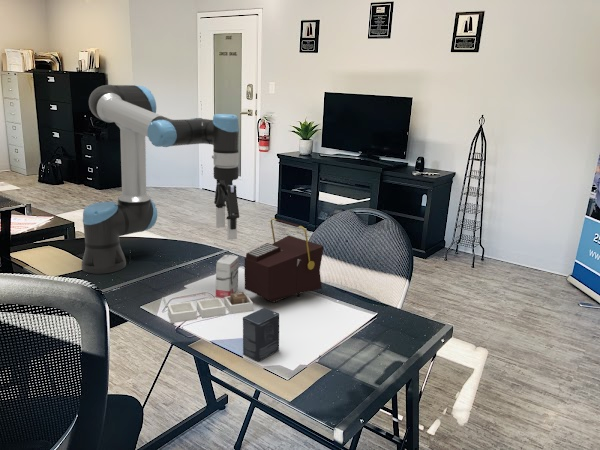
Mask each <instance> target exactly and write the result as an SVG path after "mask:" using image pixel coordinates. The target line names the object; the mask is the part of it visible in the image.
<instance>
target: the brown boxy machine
mask: <svg viewBox="0 0 600 450" xmlns="http://www.w3.org/2000/svg"><path fill="white" fill-rule="evenodd" d="M273 221H276V222H278V223H281V224H284V225H288V226H292V227H295V228H301V229H302V230H303V231H304V235H305V236H304V238H305V239H302V238H299V237H295V236H292V235H287V236H285V237H283V238H281V239H279V240H277V241H276V237H275V236H276V235H275V232H274V231H275V229H274V225H273ZM270 226H271V227H270V228H271V234H272V239H273V243H269V242H266V243H264V244H262V245H260V246H258V247H256V248H254V249H252V250H251V251H248V252H246V254H245V258H244V290H247V291H248V292H250V293H253V294H255V295H257V296H259V297H260V298H261V299H265V300H267V301H269V302H271V303H273V304H277V302H278V301H281V300H283V299H286V298H289V297H293V296H295V295H296V297H297V298H300V297H301V296H300V295H301V294H302V293H307V292H312V291H317V290H321V289H322V287H323V286H322V281H321V280H322V279H321V265H322V264H321V263H322V259H323V253H324V247H325V245H322V244H318V243H315V242H312V241H309V240H308V234H307V230H306V228H305V227H304V226H302V225H299V224H296V223H293V222H289V221H286V220H282V219H279V218H277V219H276V218H272V219H271V220H270ZM322 290H323V289H322Z"/></svg>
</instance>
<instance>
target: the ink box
mask: <svg viewBox="0 0 600 450" xmlns="http://www.w3.org/2000/svg"><path fill="white" fill-rule="evenodd" d="M239 257H240V256H238V255H234V254H224V255H222V257H220V258H219V259H218V260H217V261H216V263H215V265H216V266H215V267H216V269H215V298H223V299H224V297H228V296H230V294H232V293H236V292H237V290H238V289H239V263H240V262H239Z"/></svg>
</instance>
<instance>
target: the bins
mask: <svg viewBox="0 0 600 450" xmlns="http://www.w3.org/2000/svg"><path fill="white" fill-rule="evenodd" d="M244 294H245V295H246V297H247V303H242V304H235V305H232V304H231V303H230V296H228V297H224V298H223V299H224V300H223V301H224V302H223V301H222V299H221V297H215V298H209V299H207V298H206V299H200V300H196V307H195V305H194V303H193V301H192V300H191V301H183V302H178V303H170V304H167V306H168V307H167V314H168V317H169V319H170V323H171V325H175V323H180V322H185V321H191V320H192V321H193V320H197V318H198V317H197V316H198V314H197V312H198V313H199V315H200V317H201V319H206V318H212V317H213V318H214V317H218V316H219V317H220V316H226V309H227V311H228V313H229V314H230V315H233V314H240V313H246V312H254V302H253V301H252V299H251V298H250V297H249V295H248V294H247V293H244Z"/></svg>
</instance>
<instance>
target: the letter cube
mask: <svg viewBox="0 0 600 450" xmlns="http://www.w3.org/2000/svg"><path fill="white" fill-rule="evenodd" d="M245 294H246V293H244V292H243V291H239V292H235V293H232V294H230V303H231V304H232V305H235V304H242V303H247V297H246V295H245Z"/></svg>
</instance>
